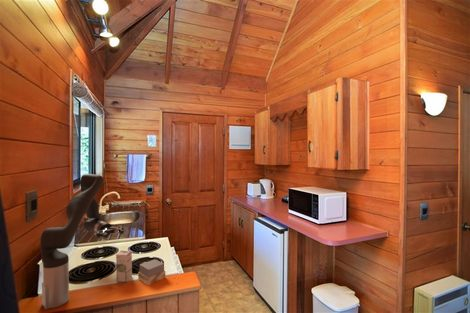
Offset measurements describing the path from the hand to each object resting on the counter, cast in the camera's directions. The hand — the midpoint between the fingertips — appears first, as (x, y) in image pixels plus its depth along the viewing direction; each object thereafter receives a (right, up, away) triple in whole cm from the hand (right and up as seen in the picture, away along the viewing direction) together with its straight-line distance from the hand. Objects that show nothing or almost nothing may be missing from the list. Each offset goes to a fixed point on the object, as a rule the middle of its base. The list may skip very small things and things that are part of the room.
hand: (115, 234), depth 137 cm
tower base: (+23, -22, -6) cm, 32 cm away
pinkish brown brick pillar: (+8, -22, -7) cm, 24 cm away
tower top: (+23, -18, -6) cm, 30 cm away
